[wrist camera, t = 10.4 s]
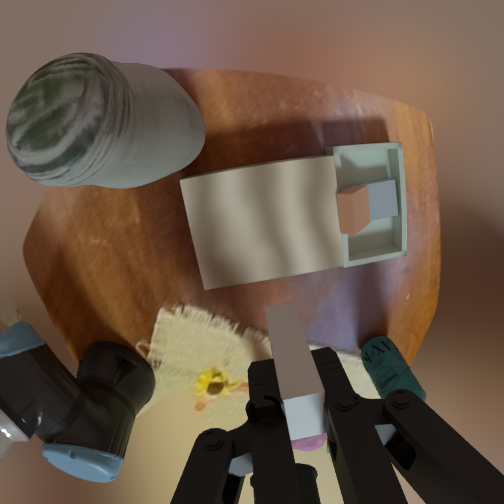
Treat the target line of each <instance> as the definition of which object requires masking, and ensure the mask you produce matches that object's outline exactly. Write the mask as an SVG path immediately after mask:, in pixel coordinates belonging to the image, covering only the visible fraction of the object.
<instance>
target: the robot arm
mask: <svg viewBox="0 0 504 504" xmlns="http://www.w3.org/2000/svg"><path fill="white" fill-rule="evenodd" d="M264 309H265V315H266V321H267V327H268V332H269V338H270V344H271V350H272V356H273V359H268V360H262V361H256V362H252V363H251V365H250V367H249V369H248V383H249V397H250V400H249V401H248V403H247V404H246V409H245V410H246V413H247V416H248V420H247V421H246V423H244V424H243V425H242V426H240V427H238V428H236V429H233V430H230V431H228V432H227V431H225V430H223V429H220V428H211V429H208V430H206V431H203V432H202V433H201V434H199V436H198V437H197V439H196V441H195V443H194V446H193V448H192V451H191V453H190V456H189V458H188V461H187V463H186V466H185V468H184V471H183V473H182V476H181V478H180V481H179V483H178V486H177V488H176V491H175V493H174V496H173V498H172V500H171V503H170V504H238V502H239V498H240V494H241V490H242V486H243V482H244V478H245V475H246V474H249V473H251V472H253V475H254V487H255V499H256V504H303V501H302V496H301V491H300V486H299V480H298V475H297V470H296V465H295V460H294V455H293V450H292V444H291V440H296V439H301V438H306V437H311V436H316V435H320V434H324V433H325V431H326V434H327V453H329V452H330V455H331V458H332V462H333V466H334V468H335V473H336V476H337V480H338V483H339V486H340V490H341V494H342V497H343V501H344V504H408V502H407V500H406V498H405V495H404V493H403V490H402V488H401V485H400V483H399V481H398V478H397V476H396V473H395V471H394V469H393V466H392V464H393V465H394V466H395V468H396V469H397V470H398V471H399V472H400V474H401V475H402V476H403V477H404V478H405V479H406V481H407V482H408V483H409V484H410V485H411V487H412V488H413V489H414V490H415V491H416V492H417V494H418V495H419V496H420V497H421V498H422V499H423V501H424V502H425V503H426V504H504V475H503V474H502V473H501V472H500V471H498V470H497V469H496V468H495V467H494V466H493V465H492V464H491V463H490V462H489V461H488V460H487V459H486V458H484V457H483V456H482V455H481V454H480V453H479V452H478V451H477V450H476V449H475V448H473V446H471V445H470V444H469V443H468V442H467V441H466V440H465V439H464V438H463V437H462V436H461V435H460V434H459V433H457V432H456V431H455V430H454V429H453V428H452V427H451V426H450V425H448V423H447V422H445V421H444V420H443V419H442V418H441V417H440V416H439V415H438V414H437V413H436V412H435V411H434V410H432V409H431V408H430V407H429V406H428V405H427V404H426V403H425V402H424V401H423V400H422V399H420V398H419V397H418V396H417V395H416V394H415V393H414V392H412V391H410V390H407V389H396V390H393V391H391V392H390V393H388V394H387V395H386V397H385V399H367V398H363V397H361V396H360V395H359V394H357V393H355V391H354V390H353V388H352V386H351V384H350V381H349V379H348V377H347V375H346V373H345V371H344V368H343V366H342V364H341V362H340V360H339V358H338V356H337V353H336V352H335V351H333V350H332V349H331V348H330V347H325V348H321V349H316V350H311V351H310V349H309V346H308V343H307V340H306V338H305V335H304V332H303V329H302V327H301V324H300V321H299V318H298V316H297V313H296V310H295V308H294V305H293V302H292V303H287V304H281V305H276V306H270V307H265V308H264ZM46 343H47V342H46V341H45V340H43V339H42V338H41V337H40V335H39V334H38V333H37V332H36V331H35V329H34V328H33V327H32V326H31V325H30V324H29V323H27V322H25V321H20V322H17V323H15V324H14V325H12V326H10V327H9V328H8V329H6V330H4V331H3V332H2V333H0V460H1V459H2V458H3V456H4V455H5V453H6V452H7V450H8V449H9V447H10V446H11V444H12V443H13V442H15V441H29V439H30V438H31V437H32V435H33V434H35V435H37V436H38V437H39V438H40V439H41V440H42V441H43V442H44V444H43V445H42V454H43V456H45V458H46V459H47V460H48V461H49V462H50V463H51V464H53V465H54V466H56V467H57V468H59V469H61V470H63V471H64V472H66V473H69V474H71V475H73V476H76V477H79V478H82V479H85V480H89V481H94V482H110V481H112V480H114V479H115V478H116V477H117V475H118V473H119V470H120V467H121V465H122V464H123V462H124V460H123V459H124V456H125V452H126V448H127V445H128V441H129V437H130V434H131V430H132V427H133V423H134V420H135V417H136V415H137V414H138V413H139V411H140V410H141V409H142V408H143V406H144V405H145V404H147V403H148V402H149V400H150V399H151V397H152V395H153V392H154V388H155V377H154V374H153V372H152V370H151V368H150V367H149V365H148V364H147V363H146V362H145V361H144V360H143V359H142V358H141V357H140V356H139V355H138V354H136V353H135V352H133V351H132V350H130V349H128V348H126V347H124V346H122V345H119V344H116V343H112V342H96V343H93V344H91V345H89V346H88V347H87V348H86V349H85V350H84V352H83V354H82V355H81V357H80V359H79V363H78V371H77V378H75V377H74V376H73V375H72V374H71V373H70V372H69V371H68V369H67V368H66V367H65V366H64V365H63V364H62V362H61V361H60V360H59V359H58V358H57V357H56V355H55V354H54V353H53V351H52V350H51V349H50V348H49V346H48V345H47V344H46ZM391 463H392V464H391Z"/></svg>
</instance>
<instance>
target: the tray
mask: <svg viewBox="0 0 504 504" xmlns="http://www.w3.org/2000/svg"><path fill="white" fill-rule="evenodd" d="M325 152H326V155H332V156H334V162H335V171H336V179H337V188H338V193H339V192H341V191H343V190H345V189H347V188H349V187H351V186H353V185H357V183H362V182H368V181H373V180H379V179H385V178H390V179H394V180H395V185H396V195H397V205H398V215H396V216H392V217H387V218H383V219H378V220H373V221H371V222H370V223H369V224H368V225H367V226H365V227H364V228H363V229H362V230H361V231H359V232H358V233H357V234H356V235H350V234H342V248H343V268H346V267H351V266H356V265H362V264H367V263H372V262H377V261H381V260H386V259H391V258H396V257H401V256H406V249H407V213H406V187H405V172H404V160H403V149H402V142H382V143H365V144H352V145H340V146H330V147H325Z"/></svg>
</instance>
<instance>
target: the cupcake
mask: <svg viewBox="0 0 504 504" xmlns="http://www.w3.org/2000/svg"><path fill="white" fill-rule="evenodd" d="M326 439H327V434H326V431H325V433H324V434H320V435H316V436H311V437H306V438H301V439H296V440H291V444H292V448H293V449H297V450H303V451H312V450H316V449H318V448H320V447H321V446H323V445H324V443H325V440H326Z"/></svg>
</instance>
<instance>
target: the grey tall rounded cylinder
mask: <svg viewBox="0 0 504 504" xmlns="http://www.w3.org/2000/svg"><path fill="white" fill-rule="evenodd" d="M205 136H206V130H205V123H204V119H203V117H202V114H201V112H200V110H199V109H198V107H197V105H196V104H195V102H194V101H193V100H192V98H191V97H190V96H189V95H188V94H187V93H186V91H185V90H184V89H183V88H182V87H181V86H180V85H179V84H178V83H177V82H176V80H174V79H173V78H172V77H171V76H170V75H169V74H167V73H166V72H164V71H163V70H161V69H159V68H156V67H153V66H149V65H144V64H138V63H119V62H113V61H110V60H108V59H106V58H105V57H102V56H100V55H97V54H93V53H74V54H69V55H65V56H62V57H59V58H57V59H54V60H52V61H50V62H49V63H47V64H46V65H44V66H42V67H41V68H40V69H38V70H37V71H36V72H35V73H34V74H33V75H31V77H30V78H29V79H28V80H27V81H26V82H25V84H24V85H23V86H22V88H21V89H20V90H19V92H18V94H17V95H16V97H15V99H14V100H13V102H12V105H11V107H10V110H9V113H8V117H7V124H6V138H7V146H8V151H9V153H10V155H11V157H12V159H13V161H14V163H15V164H16V166H17V167H18V168H19V169H20V170H21V171H22V172H23V173H24V174H25V175H26V176H28V177H29V178H30V179H32V180H34V181H36V182H38V183H42V184H45V185H49V186H55V187H74V186H81V185H88V184H94V185H98V186H104V187H110V188H132V187H137V186H141V185H145V184H148V183H151V182H153V181H156V180H158V179H161V178H163V177H165V176H167V175H169V174H171V173H174V172H176V171H178V170H181V169H182V168H184V167H186V166H187V165H189V164H190V163H191V162H192V161H193V160H194V159H195V158H196V157H197V156H198V155H199V153H200V152H201V150H202V148H203V145H204V142H205Z"/></svg>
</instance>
